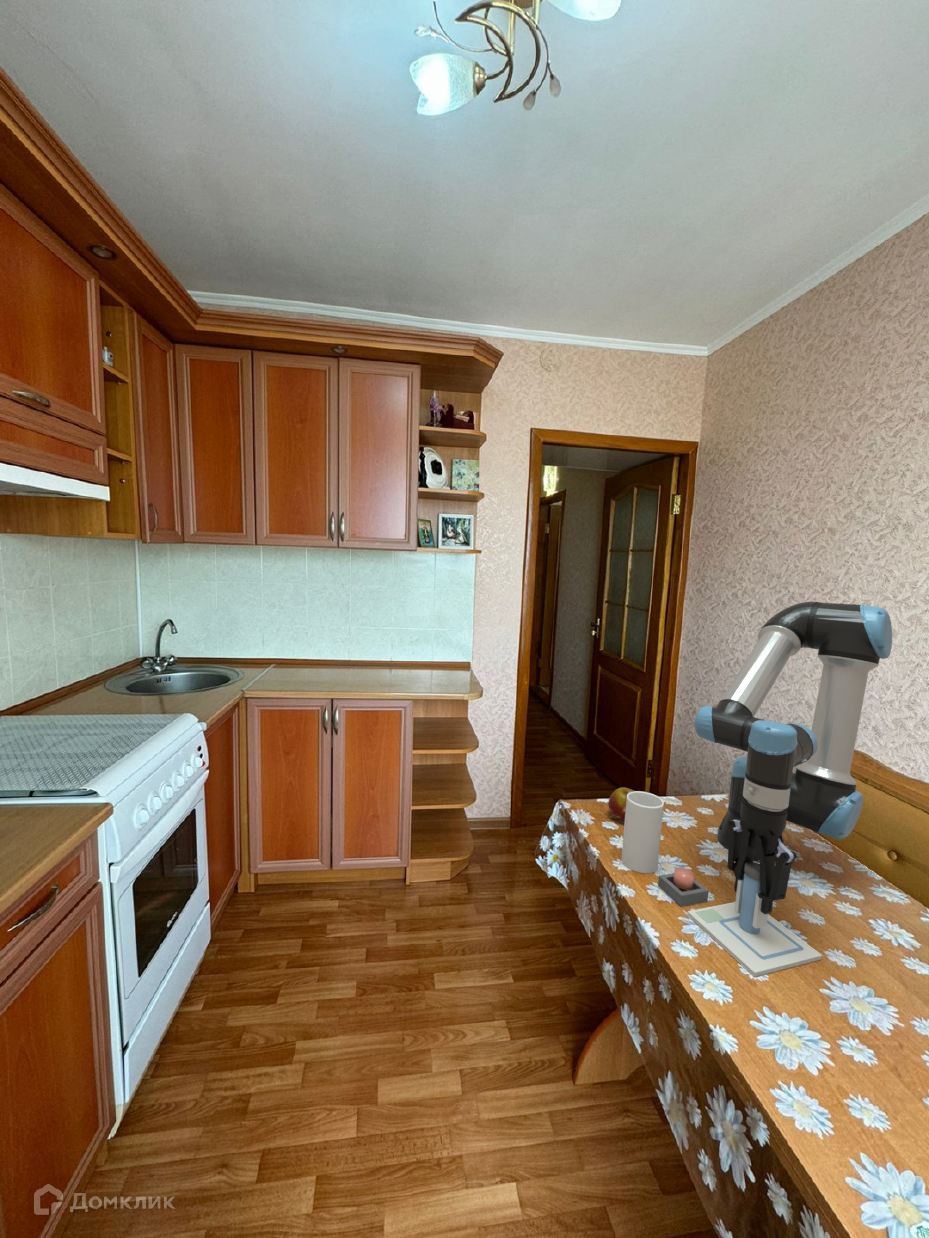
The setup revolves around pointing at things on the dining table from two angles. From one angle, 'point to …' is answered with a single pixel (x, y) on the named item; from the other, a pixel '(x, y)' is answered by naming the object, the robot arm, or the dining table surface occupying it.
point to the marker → (749, 897)
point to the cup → (642, 831)
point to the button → (683, 878)
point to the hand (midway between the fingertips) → (750, 918)
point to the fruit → (619, 802)
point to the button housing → (683, 898)
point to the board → (754, 941)
